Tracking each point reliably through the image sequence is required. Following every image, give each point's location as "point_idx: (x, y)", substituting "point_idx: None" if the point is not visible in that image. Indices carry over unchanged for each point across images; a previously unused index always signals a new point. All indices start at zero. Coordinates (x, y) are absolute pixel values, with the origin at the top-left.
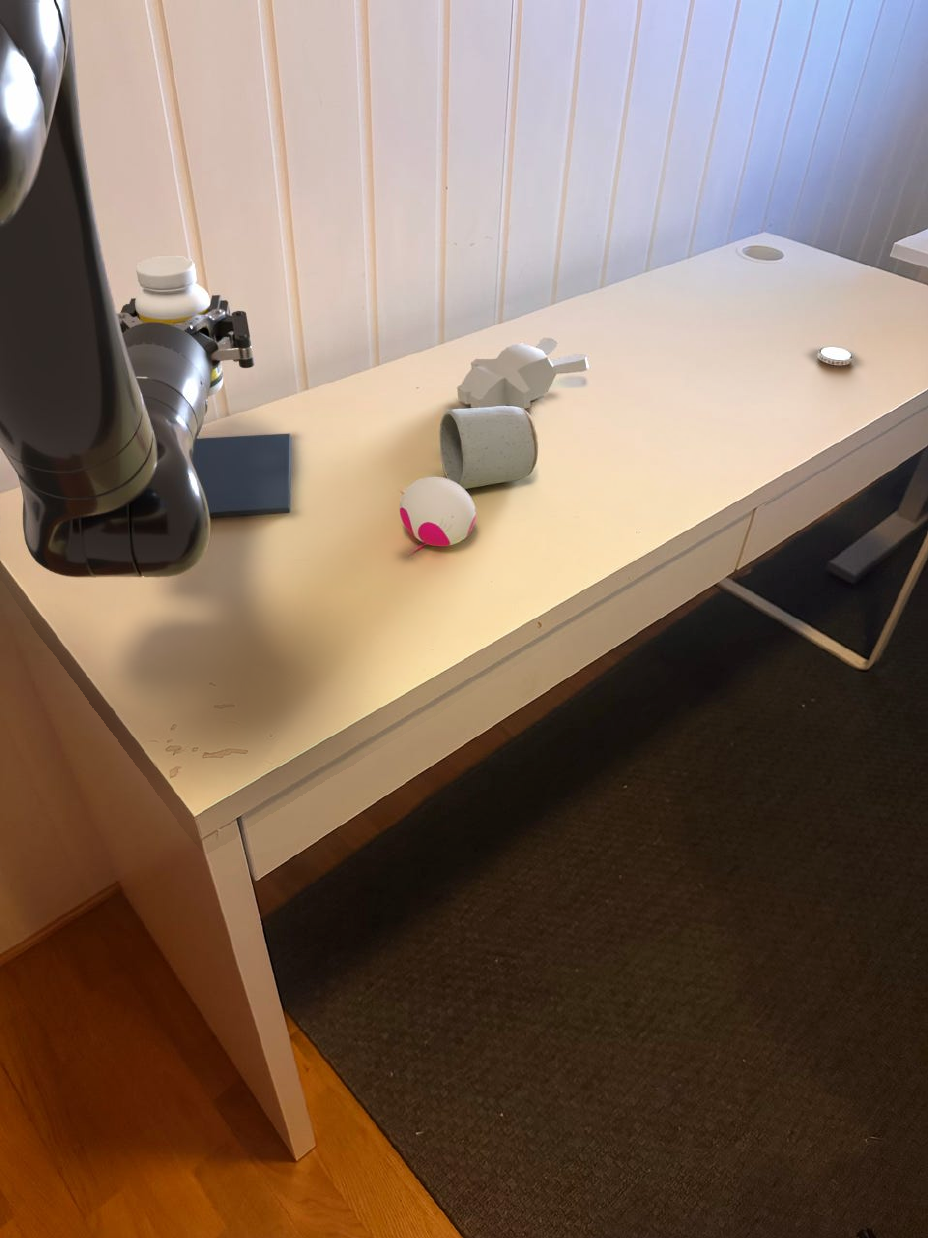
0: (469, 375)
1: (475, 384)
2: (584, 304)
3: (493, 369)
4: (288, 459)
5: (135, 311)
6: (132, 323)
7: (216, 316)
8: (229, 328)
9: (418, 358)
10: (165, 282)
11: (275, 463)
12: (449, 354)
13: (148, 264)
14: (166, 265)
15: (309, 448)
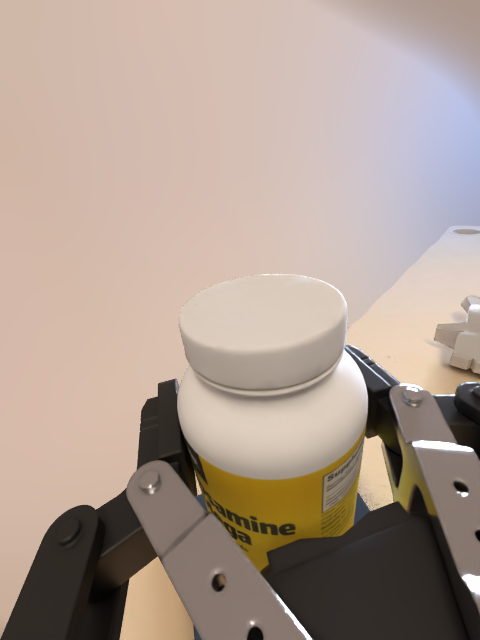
0: (459, 342)
1: (475, 351)
2: (417, 271)
3: (477, 333)
4: (366, 507)
5: (181, 436)
6: (224, 613)
7: (443, 425)
8: (457, 439)
9: (358, 328)
10: (302, 364)
11: (356, 521)
12: (377, 321)
13: (211, 310)
14: (264, 303)
15: (364, 468)
